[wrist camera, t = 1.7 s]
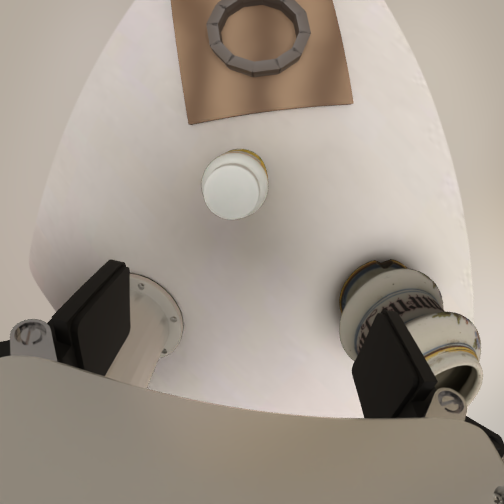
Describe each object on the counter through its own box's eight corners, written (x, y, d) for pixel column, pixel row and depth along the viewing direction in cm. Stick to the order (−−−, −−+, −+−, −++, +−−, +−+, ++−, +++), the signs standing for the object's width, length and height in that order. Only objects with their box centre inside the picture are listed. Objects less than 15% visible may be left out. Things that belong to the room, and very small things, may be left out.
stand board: (191, 124, 29) (182, 123, 25) (172, -7, 23) (162, -21, 19) (350, 104, 27) (361, 100, 24) (321, -27, 22) (327, -42, 18)
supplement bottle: (227, 140, 29) (212, 142, 20) (276, 163, 30) (282, 174, 21) (205, 188, 31) (182, 210, 22) (253, 210, 32) (249, 240, 23)
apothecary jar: (423, 243, 32) (518, 326, 16) (415, 326, 37) (475, 425, 20) (327, 257, 33) (378, 369, 17) (330, 343, 38) (361, 462, 21)
